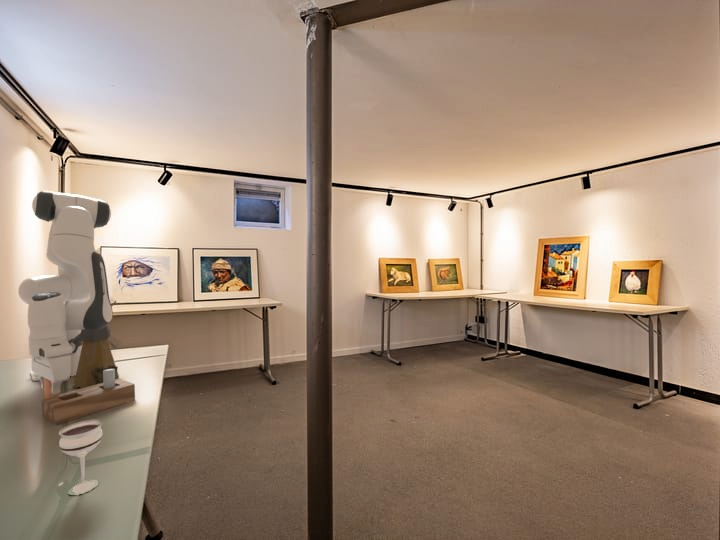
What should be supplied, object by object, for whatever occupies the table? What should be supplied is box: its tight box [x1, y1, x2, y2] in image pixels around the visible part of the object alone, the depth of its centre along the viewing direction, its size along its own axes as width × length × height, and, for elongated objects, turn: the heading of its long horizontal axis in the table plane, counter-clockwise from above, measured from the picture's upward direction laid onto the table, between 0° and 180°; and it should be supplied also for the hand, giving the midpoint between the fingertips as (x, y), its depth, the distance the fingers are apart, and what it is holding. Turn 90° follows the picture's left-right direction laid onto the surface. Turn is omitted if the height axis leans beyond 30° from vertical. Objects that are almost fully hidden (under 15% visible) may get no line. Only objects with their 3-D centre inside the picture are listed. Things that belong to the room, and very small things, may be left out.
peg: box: [43, 377, 58, 399], centre depth 108 cm, size 3×3×10 cm
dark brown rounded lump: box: [91, 364, 118, 385], centre depth 120 cm, size 8×7×8 cm
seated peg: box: [103, 369, 115, 390], centre depth 111 cm, size 3×3×10 cm
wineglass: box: [58, 419, 104, 493], centre depth 69 cm, size 7×7×12 cm
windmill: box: [69, 297, 122, 389], centre depth 129 cm, size 21×14×30 cm, turn 148°
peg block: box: [41, 377, 136, 426], centre depth 107 cm, size 10×20×5 cm, turn 147°
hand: (50, 391), depth 108 cm, fingers open, 7 cm apart
